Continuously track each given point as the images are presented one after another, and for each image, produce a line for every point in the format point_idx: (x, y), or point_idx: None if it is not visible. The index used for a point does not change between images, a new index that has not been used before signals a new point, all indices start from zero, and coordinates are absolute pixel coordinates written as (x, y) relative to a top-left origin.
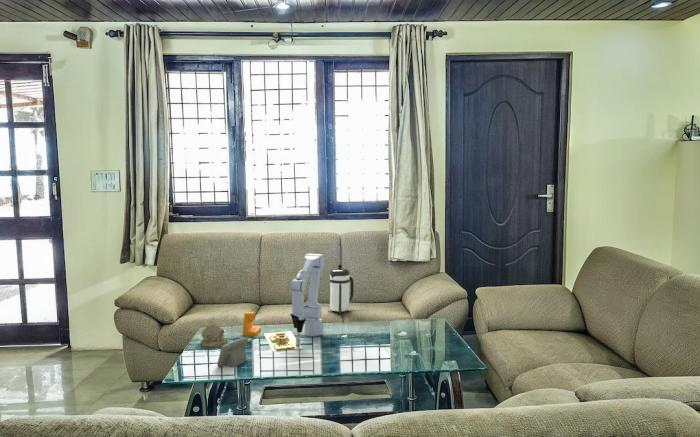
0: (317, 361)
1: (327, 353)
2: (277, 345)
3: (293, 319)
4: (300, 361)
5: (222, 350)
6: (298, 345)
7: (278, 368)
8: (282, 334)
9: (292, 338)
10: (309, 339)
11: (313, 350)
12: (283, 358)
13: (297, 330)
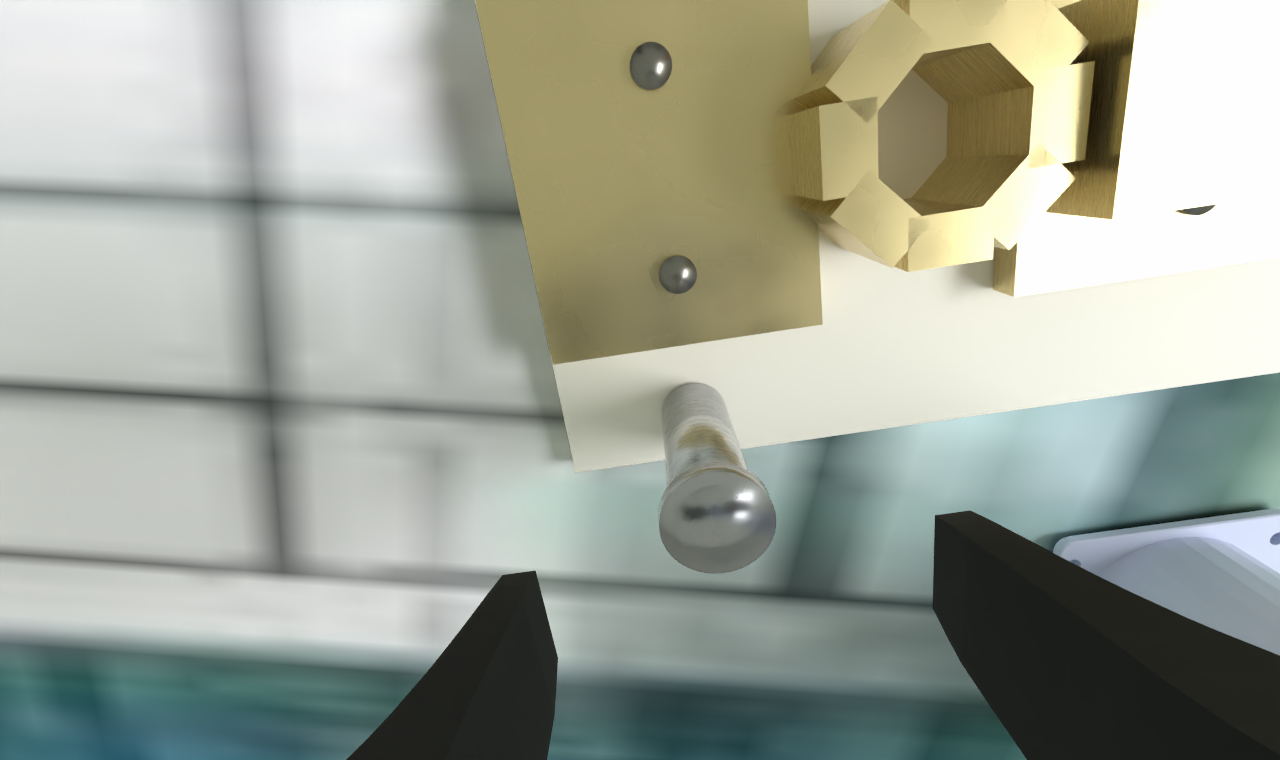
0: (130, 603)
1: None
2: (673, 30)
3: (1179, 726)
4: (93, 403)
5: None
6: (662, 426)
7: None
8: (1099, 156)
9: (1080, 347)
10: None
11: None
12: (187, 143)
13: (472, 619)
